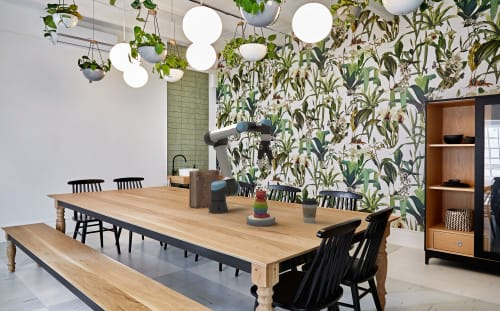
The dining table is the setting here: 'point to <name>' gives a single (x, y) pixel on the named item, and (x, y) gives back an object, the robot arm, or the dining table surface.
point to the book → (201, 187)
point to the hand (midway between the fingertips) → (264, 168)
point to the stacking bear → (260, 205)
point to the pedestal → (260, 221)
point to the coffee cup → (309, 210)
